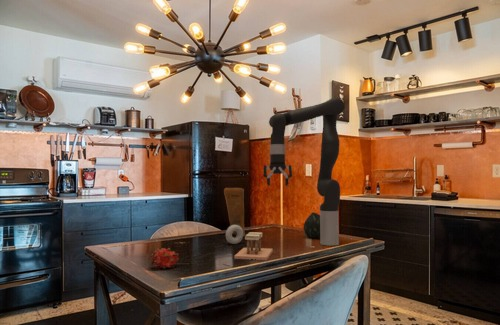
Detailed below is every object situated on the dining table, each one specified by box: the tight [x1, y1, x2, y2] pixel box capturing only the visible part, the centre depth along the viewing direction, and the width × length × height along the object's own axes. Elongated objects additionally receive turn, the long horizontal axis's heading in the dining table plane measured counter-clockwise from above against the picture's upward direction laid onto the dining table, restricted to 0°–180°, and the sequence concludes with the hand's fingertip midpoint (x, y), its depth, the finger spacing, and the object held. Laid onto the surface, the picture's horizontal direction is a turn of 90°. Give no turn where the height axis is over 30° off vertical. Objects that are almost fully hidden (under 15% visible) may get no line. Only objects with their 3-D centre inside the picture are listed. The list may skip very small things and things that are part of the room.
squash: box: [302, 212, 320, 240], centre depth 210 cm, size 14×15×15 cm
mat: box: [233, 247, 274, 261], centre depth 166 cm, size 14×18×1 cm
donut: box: [225, 225, 244, 245], centre depth 192 cm, size 10×4×10 cm, turn 119°
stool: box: [244, 231, 264, 254], centre depth 166 cm, size 10×6×8 cm, turn 168°
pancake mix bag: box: [223, 187, 246, 237], centre depth 223 cm, size 7×19×28 cm, turn 34°
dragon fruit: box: [149, 247, 181, 270], centre depth 145 cm, size 8×8×12 cm
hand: (277, 185), depth 186 cm, fingers open, 8 cm apart
